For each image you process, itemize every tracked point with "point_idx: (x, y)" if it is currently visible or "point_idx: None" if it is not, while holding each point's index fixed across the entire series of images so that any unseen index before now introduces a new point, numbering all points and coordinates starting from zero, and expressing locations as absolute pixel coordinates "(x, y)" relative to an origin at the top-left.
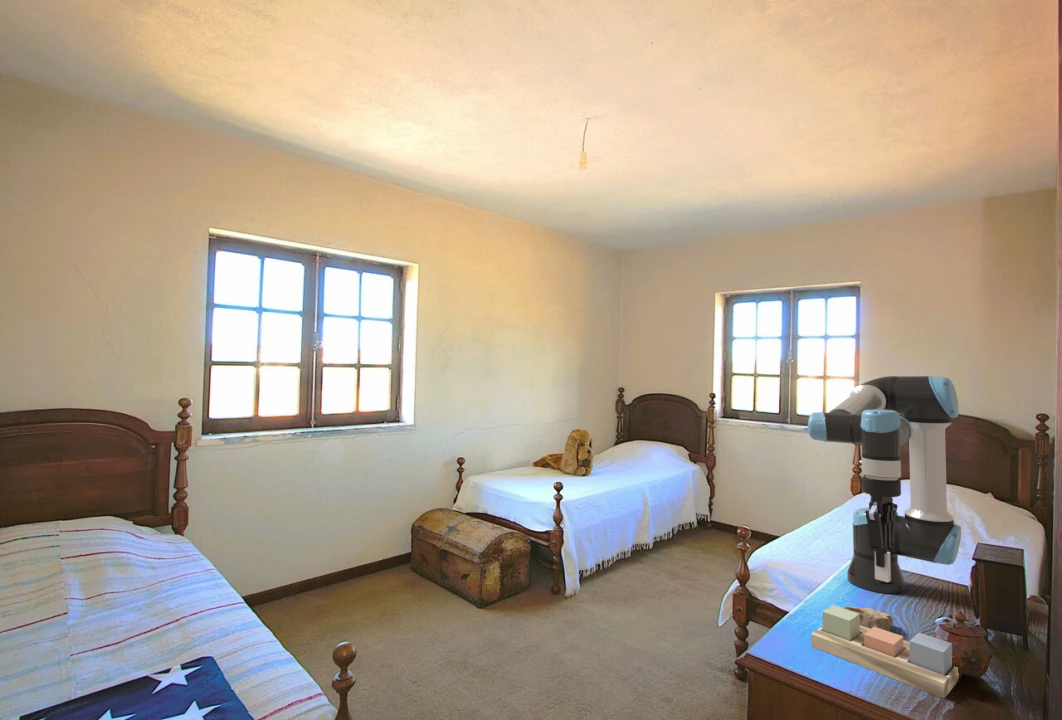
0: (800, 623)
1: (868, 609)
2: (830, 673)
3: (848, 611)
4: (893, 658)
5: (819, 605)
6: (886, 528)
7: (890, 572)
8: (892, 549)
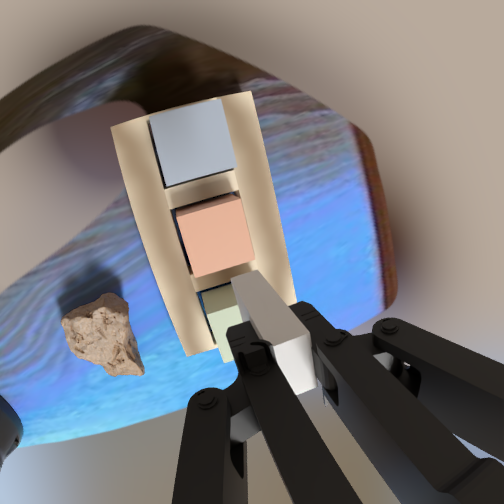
0: (231, 374)
1: (95, 354)
2: (341, 232)
3: (222, 330)
4: (245, 190)
5: (135, 409)
6: (417, 454)
7: (238, 292)
8: (263, 354)
